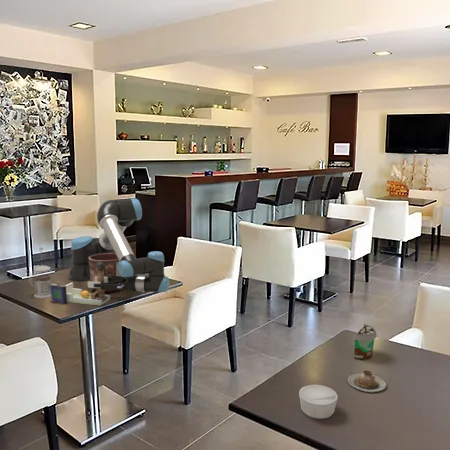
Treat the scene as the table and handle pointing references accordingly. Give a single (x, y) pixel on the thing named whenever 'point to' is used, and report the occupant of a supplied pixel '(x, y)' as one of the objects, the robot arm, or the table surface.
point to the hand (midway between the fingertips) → (91, 281)
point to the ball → (85, 294)
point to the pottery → (109, 267)
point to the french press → (45, 280)
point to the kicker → (100, 274)
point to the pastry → (367, 381)
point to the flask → (58, 293)
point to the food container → (364, 343)
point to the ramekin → (318, 401)
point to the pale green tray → (75, 297)
